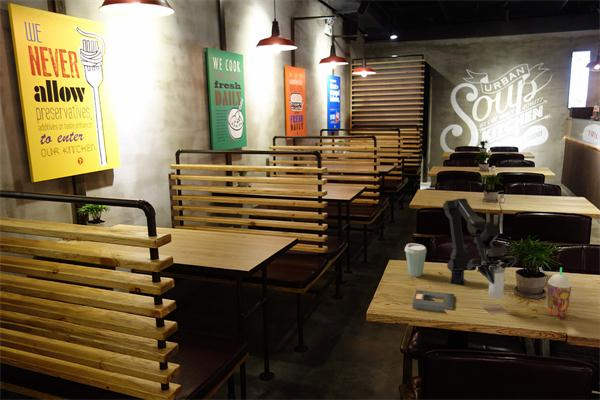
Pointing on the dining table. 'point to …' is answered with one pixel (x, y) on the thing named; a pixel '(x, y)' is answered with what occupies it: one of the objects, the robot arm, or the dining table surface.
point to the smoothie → (558, 294)
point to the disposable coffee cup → (415, 258)
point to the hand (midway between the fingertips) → (498, 282)
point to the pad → (494, 309)
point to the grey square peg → (497, 282)
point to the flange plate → (432, 301)
